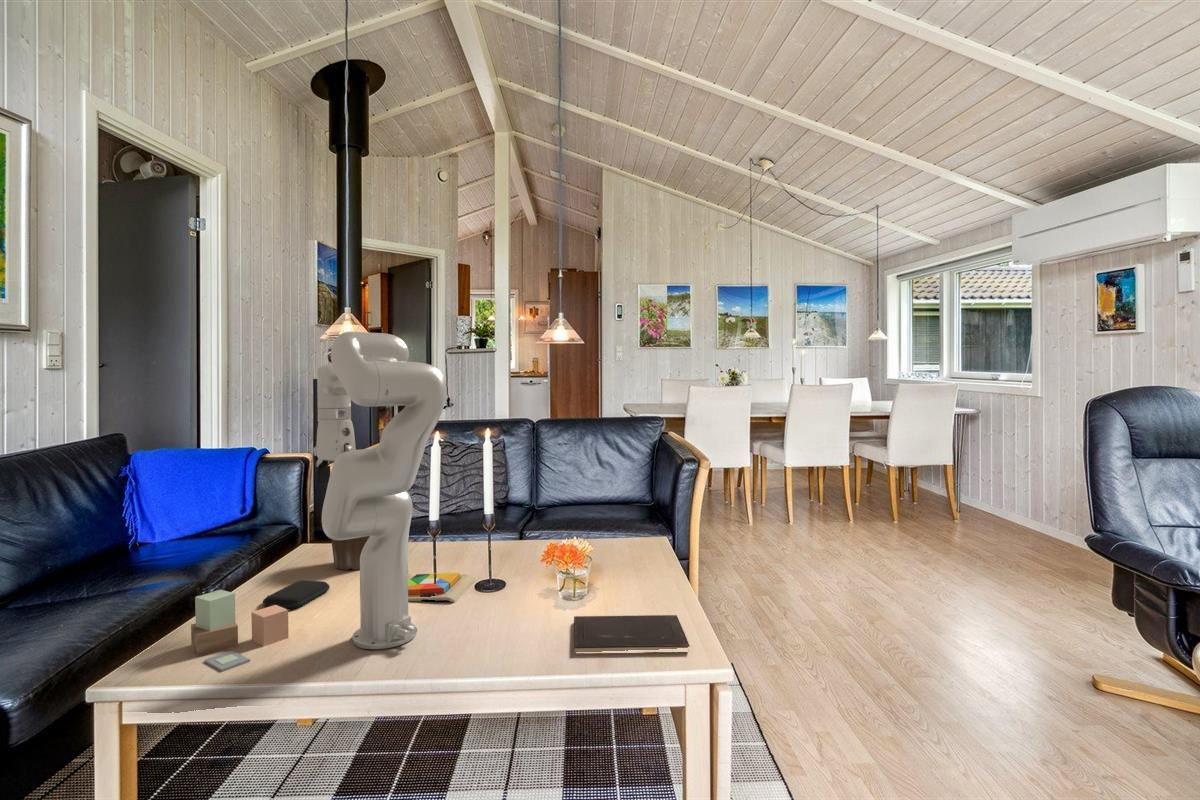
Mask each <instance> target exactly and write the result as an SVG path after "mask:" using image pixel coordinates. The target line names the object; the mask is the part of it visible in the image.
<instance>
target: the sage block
mask: <svg viewBox="0 0 1200 800" xmlns="http://www.w3.org/2000/svg"><path fill="white" fill-rule="evenodd" d="M194 599H195V600H194V603H195V604H194V605H195V606H194V607H195V609H194V610H195V623H196V627H199V628H202V629H205V630H208V631H212V630H215V629H218V628H221V627H224V626H226V625H229V624H232V623H236V594H235V593H234V592H231V591H228V590H224V589H217V590H214V591H210V592H208V593H204V594H202V595H197V596H195V597H194Z"/></svg>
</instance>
